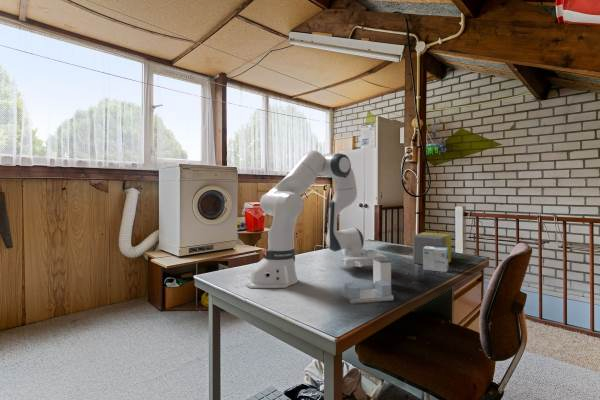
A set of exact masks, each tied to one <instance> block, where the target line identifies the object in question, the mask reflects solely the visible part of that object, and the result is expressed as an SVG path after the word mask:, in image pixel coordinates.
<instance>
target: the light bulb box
mask: <svg viewBox="0 0 600 400" xmlns="http://www.w3.org/2000/svg"><path fill="white" fill-rule="evenodd" d="M422 269H423V271H424V270H425V271H426V270H427V271H433V272H434V271H435V272H440V273H447V272H448V270H449V263H448V248H443V247H430V246H425V247H424V248H423V265H422Z"/></svg>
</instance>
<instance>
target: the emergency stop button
mask: <svg viewBox="0 0 600 400" xmlns="http://www.w3.org/2000/svg"><path fill="white" fill-rule="evenodd" d="M425 246H430V247H443V248H448V264H449V263H451V262H452V235H451V234H449V233H437V232H425V231H424V232H420V233H417V234H414V235H413V237H412V263H414V264H415V265H421V266H423V248H424V247H425Z"/></svg>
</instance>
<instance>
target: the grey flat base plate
mask: <svg viewBox="0 0 600 400" xmlns="http://www.w3.org/2000/svg"><path fill="white" fill-rule="evenodd" d="M342 296H343V297H344V298H345V300H347V302H348V303H350V304H351V305H352V304H364V303H374V302H375V303H377V302H387V301H394V295H393V294H391V295H383V296H382V295H381V294H379V293H378V292H377V291H375V288H370V289H360V297H359V298H350V297H349V296H348V295H347V294H346V293H345V290H344V291H343V292H342Z"/></svg>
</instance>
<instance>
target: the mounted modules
mask: <svg viewBox="0 0 600 400" xmlns="http://www.w3.org/2000/svg"><path fill="white" fill-rule="evenodd" d="M374 289H375V291H377V292H378V293H379V294H381V295H382V296H383V295H392V284H391V285H390V284H388V283H387V282H385V281H384V280H382V281H375V283H374ZM360 290H361V287H360V286H358V285H357V284H356V283H355V282H345V283H344V291H345V293H346V294H347V295H348V296H349V297H350V298H359V297H360Z"/></svg>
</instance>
